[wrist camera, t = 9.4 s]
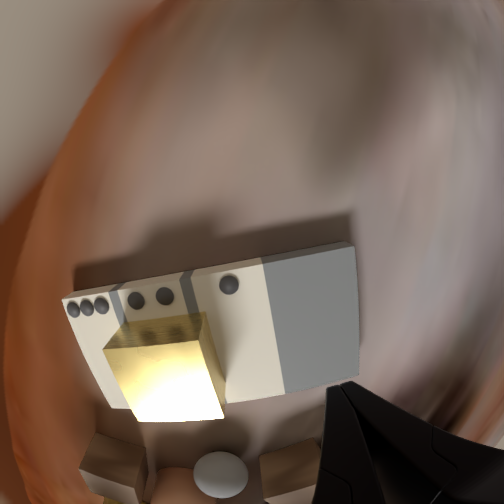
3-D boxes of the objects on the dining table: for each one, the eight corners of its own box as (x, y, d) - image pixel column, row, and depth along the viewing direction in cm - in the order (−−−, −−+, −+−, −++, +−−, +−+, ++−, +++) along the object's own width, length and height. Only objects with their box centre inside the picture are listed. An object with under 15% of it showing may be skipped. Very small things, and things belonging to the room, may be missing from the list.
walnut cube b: (145, 447, 15) (133, 487, 11) (148, 471, 16) (139, 507, 12) (96, 431, 15) (78, 468, 11) (103, 458, 16) (90, 491, 12)
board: (344, 241, 13) (355, 246, 11) (351, 363, 14) (359, 376, 13) (72, 291, 12) (60, 300, 11) (117, 396, 14) (111, 409, 13)
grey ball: (241, 439, 15) (243, 481, 11) (251, 465, 16) (254, 503, 12) (188, 443, 15) (182, 483, 11) (204, 469, 16) (201, 506, 12)
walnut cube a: (312, 436, 15) (325, 480, 12) (327, 459, 16) (340, 498, 12) (259, 455, 16) (263, 499, 12) (279, 476, 16) (286, 514, 13)
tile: (205, 311, 12) (198, 340, 9) (225, 383, 13) (224, 418, 10) (123, 322, 12) (102, 349, 9) (150, 389, 12) (138, 421, 10)
